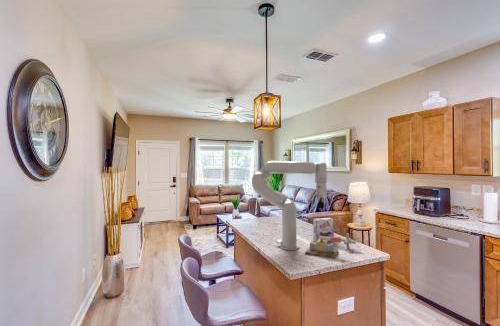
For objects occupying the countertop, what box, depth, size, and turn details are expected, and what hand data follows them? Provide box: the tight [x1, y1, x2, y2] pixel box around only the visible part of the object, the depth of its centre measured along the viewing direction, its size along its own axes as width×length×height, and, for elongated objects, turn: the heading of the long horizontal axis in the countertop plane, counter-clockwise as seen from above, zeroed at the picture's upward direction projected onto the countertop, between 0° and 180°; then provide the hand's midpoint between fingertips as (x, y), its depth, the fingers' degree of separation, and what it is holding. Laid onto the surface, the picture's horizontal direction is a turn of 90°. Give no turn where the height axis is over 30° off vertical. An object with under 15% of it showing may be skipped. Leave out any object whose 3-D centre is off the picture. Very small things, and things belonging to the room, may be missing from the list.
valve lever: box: [319, 236, 342, 244], centre depth 159 cm, size 13×3×3 cm, turn 64°
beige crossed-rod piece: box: [341, 233, 357, 250], centre depth 169 cm, size 10×10×10 cm
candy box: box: [312, 217, 335, 243], centre depth 187 cm, size 14×6×16 cm, turn 101°
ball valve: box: [309, 240, 335, 253], centre depth 161 cm, size 14×6×7 cm, turn 63°
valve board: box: [304, 246, 339, 260], centre depth 161 cm, size 18×13×2 cm
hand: (321, 207), depth 172 cm, fingers closed
